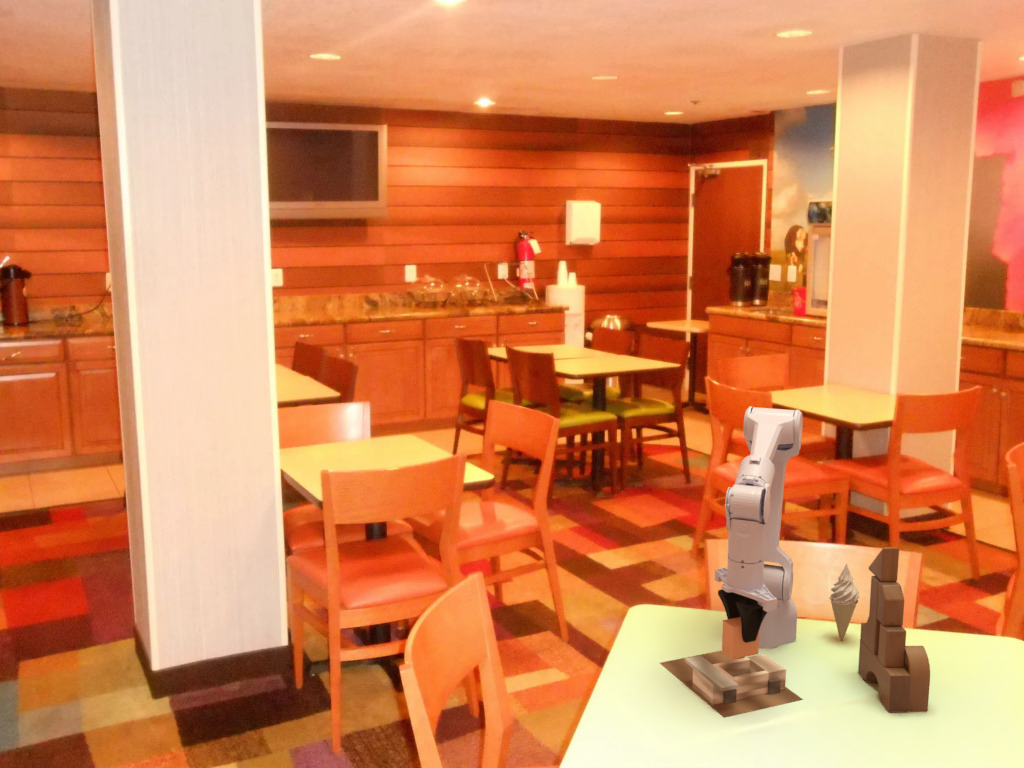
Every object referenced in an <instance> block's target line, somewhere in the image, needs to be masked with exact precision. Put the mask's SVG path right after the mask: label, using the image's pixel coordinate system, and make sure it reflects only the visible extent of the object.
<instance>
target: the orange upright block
mask: <svg viewBox="0 0 1024 768" xmlns="http://www.w3.org/2000/svg"><path fill="white" fill-rule="evenodd" d="M721 634H722V635H721V637H722V638H721V639H722V640H721V642H722V643H721V651H722V652H723V653H724V654H726V655H727V656H729V657H730V658H731V659H736V658H741V657H745V658H746V657H751V656H756V655H759V648H758V647H759V632H758V635H757V638H756V641H752V642H747V643H745V642H744V641H743V638H742V627H741V618H740V617H737V618H732V619H722V633H721Z"/></svg>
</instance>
